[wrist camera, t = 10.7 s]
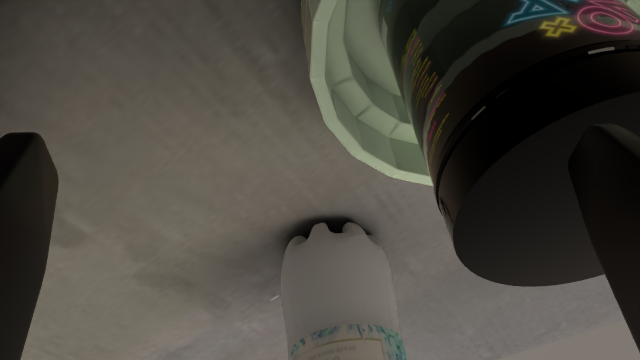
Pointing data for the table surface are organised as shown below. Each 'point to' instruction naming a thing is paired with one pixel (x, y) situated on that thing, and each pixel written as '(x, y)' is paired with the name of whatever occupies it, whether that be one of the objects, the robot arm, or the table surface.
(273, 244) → the table surface
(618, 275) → the robot arm
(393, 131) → the bowl
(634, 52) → the supplement container
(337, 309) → the bottle
